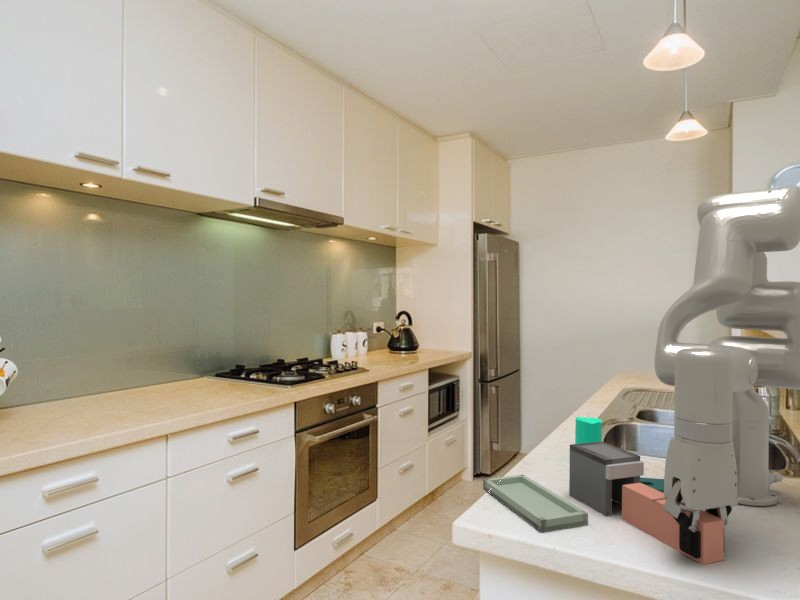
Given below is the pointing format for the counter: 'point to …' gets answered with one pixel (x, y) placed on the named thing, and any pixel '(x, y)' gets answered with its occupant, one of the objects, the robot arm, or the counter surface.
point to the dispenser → (602, 474)
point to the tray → (535, 503)
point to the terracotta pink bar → (670, 521)
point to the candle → (588, 430)
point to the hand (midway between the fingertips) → (701, 550)
